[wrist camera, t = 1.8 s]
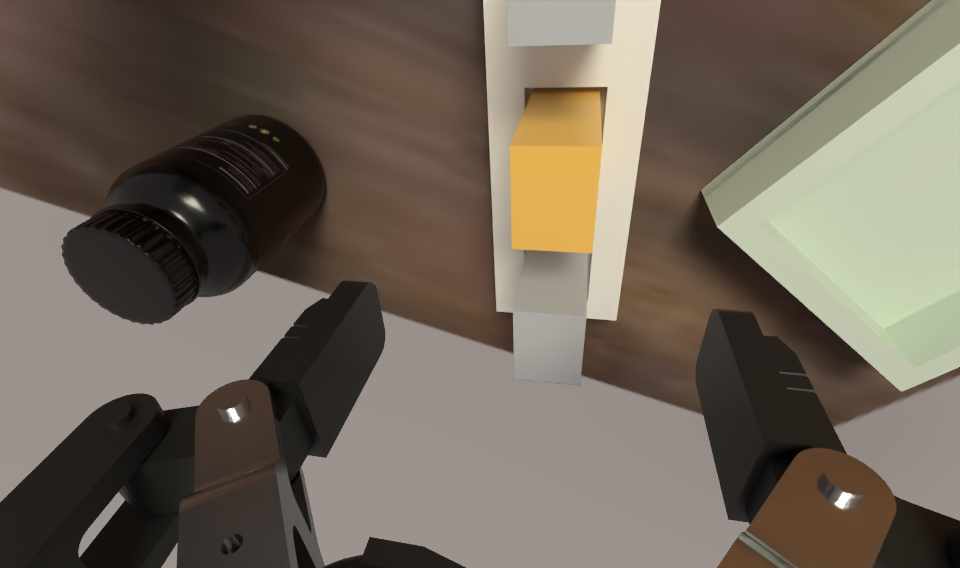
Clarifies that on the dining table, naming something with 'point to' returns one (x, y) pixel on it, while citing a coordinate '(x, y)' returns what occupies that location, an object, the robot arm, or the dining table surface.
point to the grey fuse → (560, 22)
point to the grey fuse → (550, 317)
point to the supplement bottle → (196, 219)
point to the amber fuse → (556, 171)
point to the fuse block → (622, 122)
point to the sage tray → (867, 201)
